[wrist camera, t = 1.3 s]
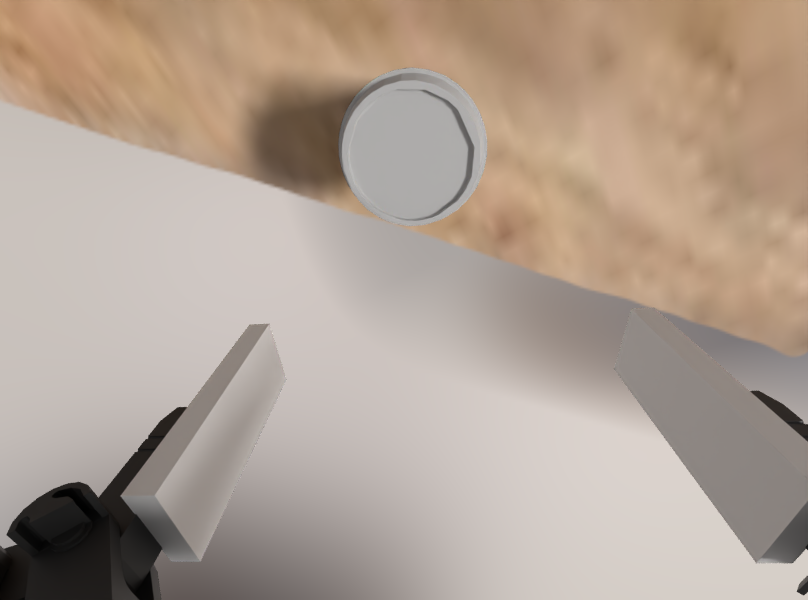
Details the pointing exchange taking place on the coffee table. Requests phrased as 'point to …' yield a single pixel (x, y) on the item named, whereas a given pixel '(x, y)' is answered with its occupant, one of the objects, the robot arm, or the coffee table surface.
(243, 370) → the robot arm
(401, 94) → the disposable coffee cup
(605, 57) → the coffee table surface
